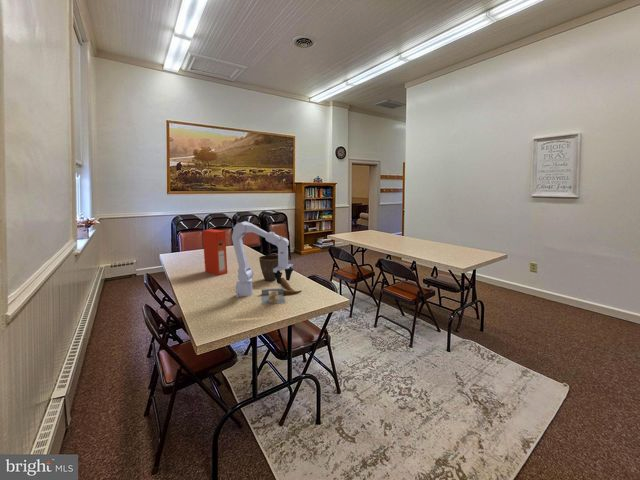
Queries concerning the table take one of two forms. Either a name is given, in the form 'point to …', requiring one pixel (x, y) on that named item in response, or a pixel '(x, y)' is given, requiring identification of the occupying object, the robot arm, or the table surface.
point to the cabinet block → (273, 296)
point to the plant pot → (268, 266)
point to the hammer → (288, 288)
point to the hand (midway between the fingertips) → (283, 281)
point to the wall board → (266, 296)
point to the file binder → (215, 251)
